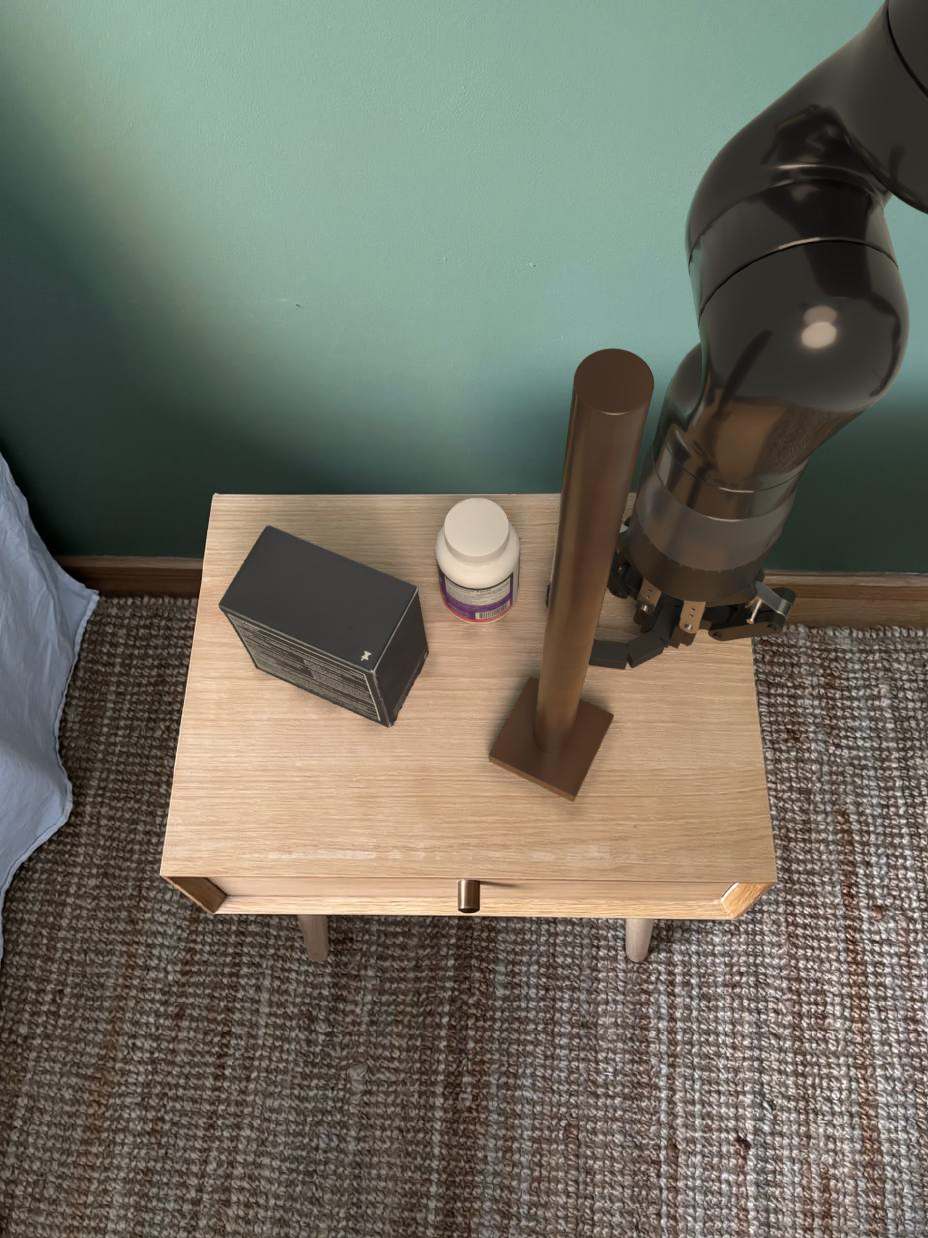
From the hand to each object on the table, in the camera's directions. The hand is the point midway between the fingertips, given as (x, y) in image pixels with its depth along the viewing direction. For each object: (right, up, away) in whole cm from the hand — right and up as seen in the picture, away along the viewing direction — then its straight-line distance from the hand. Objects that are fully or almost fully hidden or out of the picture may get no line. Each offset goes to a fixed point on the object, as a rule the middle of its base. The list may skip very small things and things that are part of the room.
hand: (663, 628), depth 69 cm
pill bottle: (-12, +3, +3) cm, 13 cm away
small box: (-21, -2, +1) cm, 22 cm away
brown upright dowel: (-8, -7, -1) cm, 11 cm away
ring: (-3, +1, +1) cm, 4 cm away
